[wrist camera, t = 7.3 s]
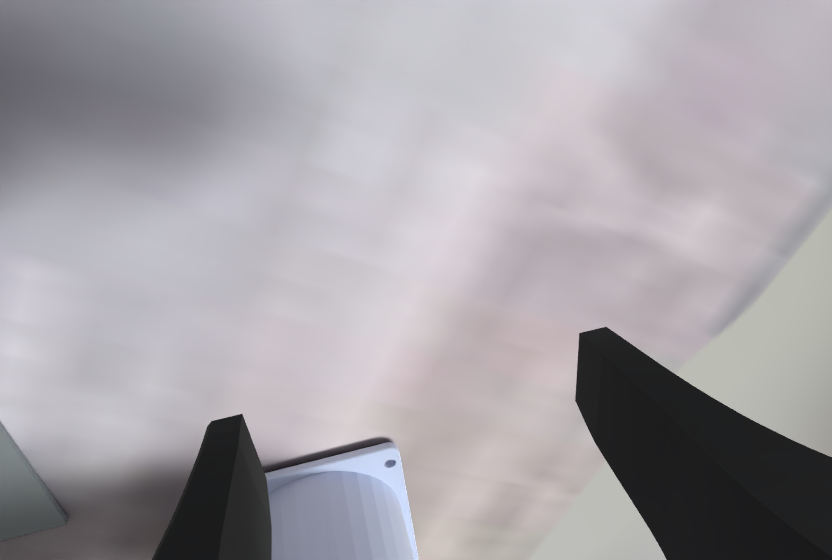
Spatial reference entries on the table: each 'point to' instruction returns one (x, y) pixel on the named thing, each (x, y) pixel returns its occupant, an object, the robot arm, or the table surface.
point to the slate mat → (23, 495)
